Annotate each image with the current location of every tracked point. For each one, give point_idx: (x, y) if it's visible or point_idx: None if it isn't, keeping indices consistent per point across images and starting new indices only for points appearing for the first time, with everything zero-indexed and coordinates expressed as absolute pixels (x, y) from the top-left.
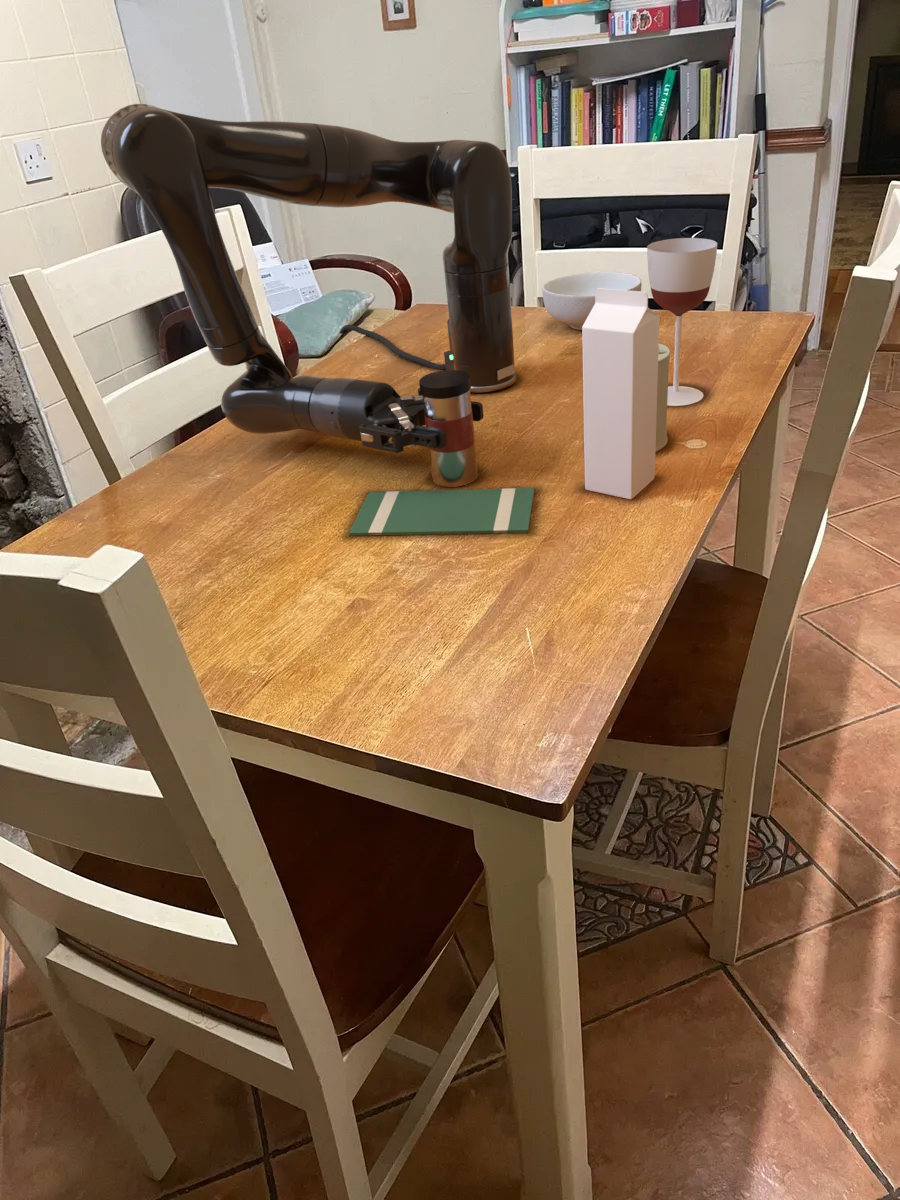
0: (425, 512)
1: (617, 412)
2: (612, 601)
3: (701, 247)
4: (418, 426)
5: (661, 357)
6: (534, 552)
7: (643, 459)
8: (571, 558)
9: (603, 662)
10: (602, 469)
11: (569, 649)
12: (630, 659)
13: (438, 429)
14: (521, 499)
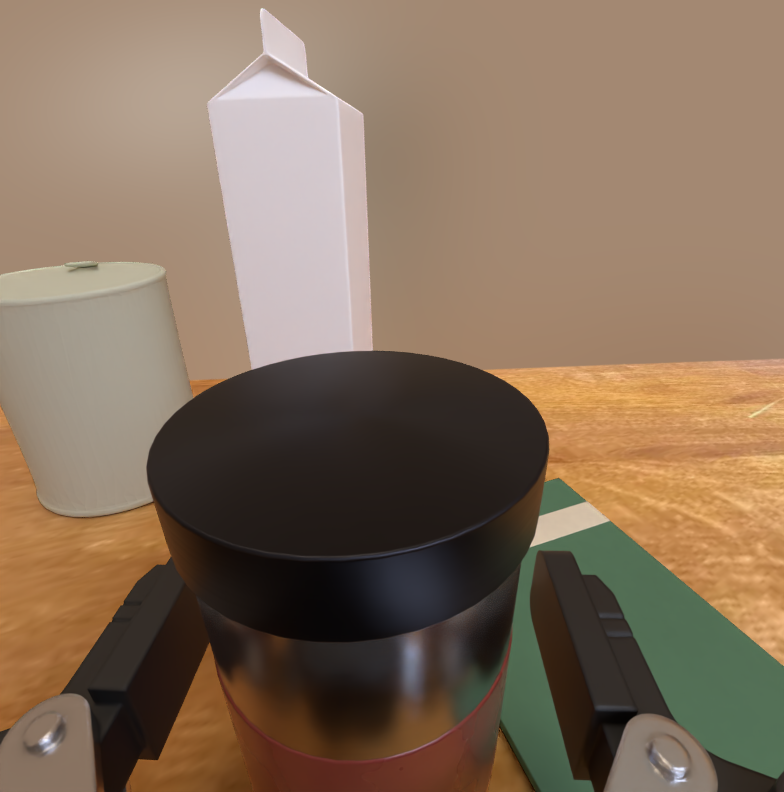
0: (702, 730)
1: (364, 284)
2: (617, 385)
3: None
4: (608, 690)
5: (125, 264)
6: (601, 460)
7: None
8: (574, 426)
9: (707, 370)
10: None
11: (726, 387)
12: (680, 362)
13: (559, 564)
14: None
